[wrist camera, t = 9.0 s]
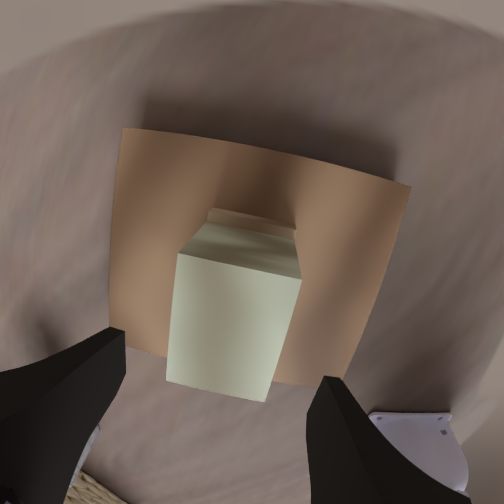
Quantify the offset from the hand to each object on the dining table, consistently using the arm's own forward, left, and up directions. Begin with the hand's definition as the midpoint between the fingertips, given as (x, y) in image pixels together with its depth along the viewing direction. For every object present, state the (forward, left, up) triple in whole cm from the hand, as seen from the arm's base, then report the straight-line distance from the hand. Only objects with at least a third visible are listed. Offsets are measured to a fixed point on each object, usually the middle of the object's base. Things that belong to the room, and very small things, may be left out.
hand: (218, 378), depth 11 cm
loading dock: (0, -1, -10) cm, 10 cm away
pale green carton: (0, -1, -8) cm, 8 cm away
